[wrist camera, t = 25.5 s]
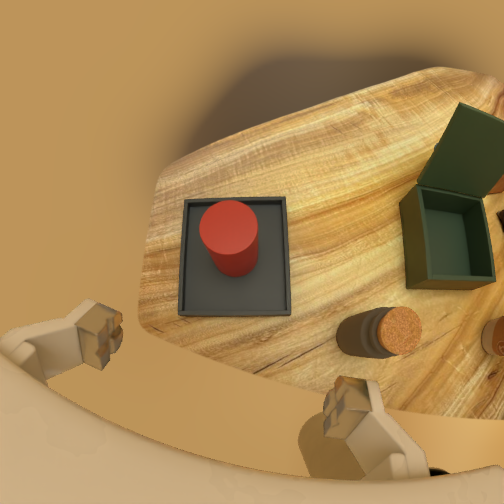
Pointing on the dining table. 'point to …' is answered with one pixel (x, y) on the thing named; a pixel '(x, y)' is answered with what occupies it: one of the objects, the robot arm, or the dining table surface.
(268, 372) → the dining table surface
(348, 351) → the bottle
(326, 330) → the dining table surface
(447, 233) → the chest
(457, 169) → the chest lid
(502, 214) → the book
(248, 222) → the red cylinder
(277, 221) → the tray
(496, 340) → the coffee cup
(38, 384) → the robot arm
